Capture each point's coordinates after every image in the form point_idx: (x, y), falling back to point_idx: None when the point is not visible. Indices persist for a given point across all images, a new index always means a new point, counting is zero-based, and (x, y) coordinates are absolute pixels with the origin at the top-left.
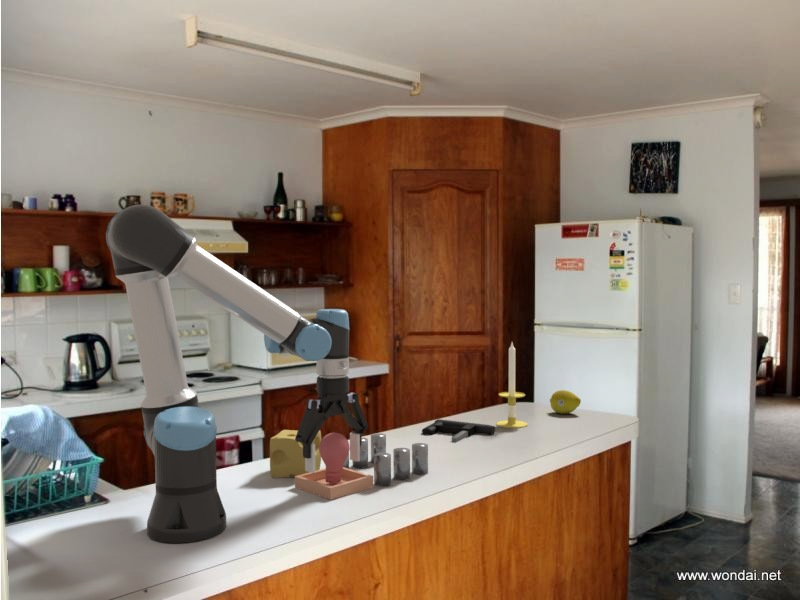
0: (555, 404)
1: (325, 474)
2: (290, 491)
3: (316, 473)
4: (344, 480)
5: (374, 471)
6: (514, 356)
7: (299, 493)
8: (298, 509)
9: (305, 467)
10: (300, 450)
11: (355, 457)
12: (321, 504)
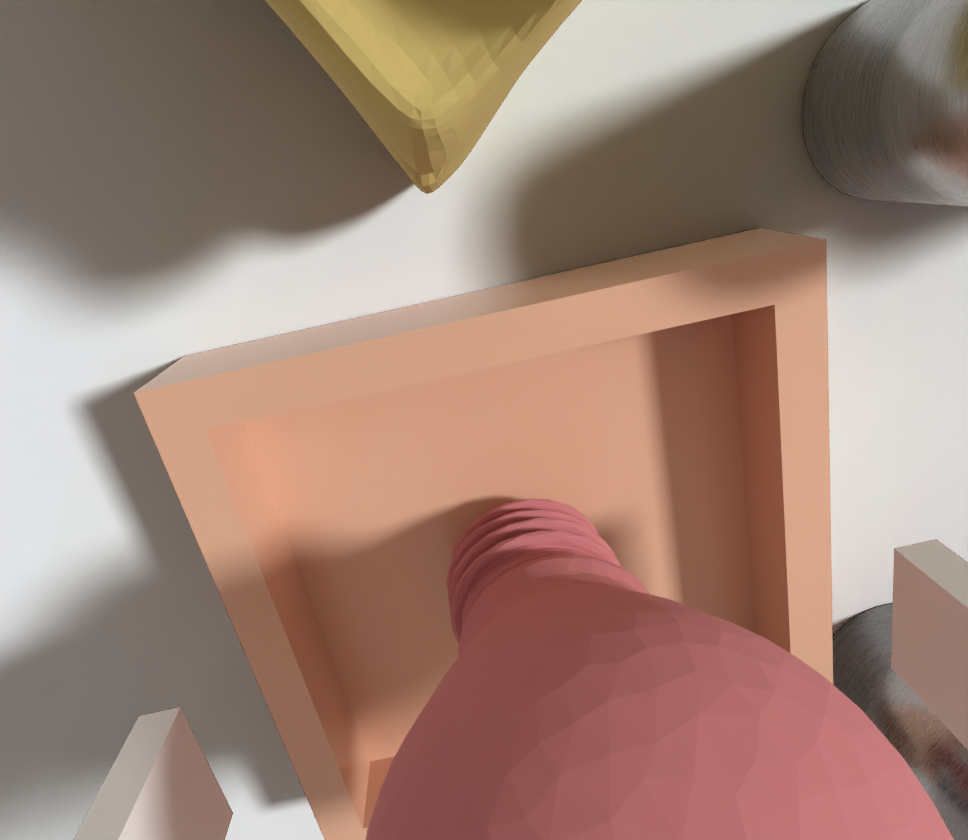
0: None
1: (453, 596)
2: (105, 446)
3: (446, 373)
4: (675, 497)
5: (896, 744)
6: None
7: (171, 539)
8: (53, 834)
9: (121, 758)
10: (274, 7)
11: (923, 673)
12: (246, 819)
